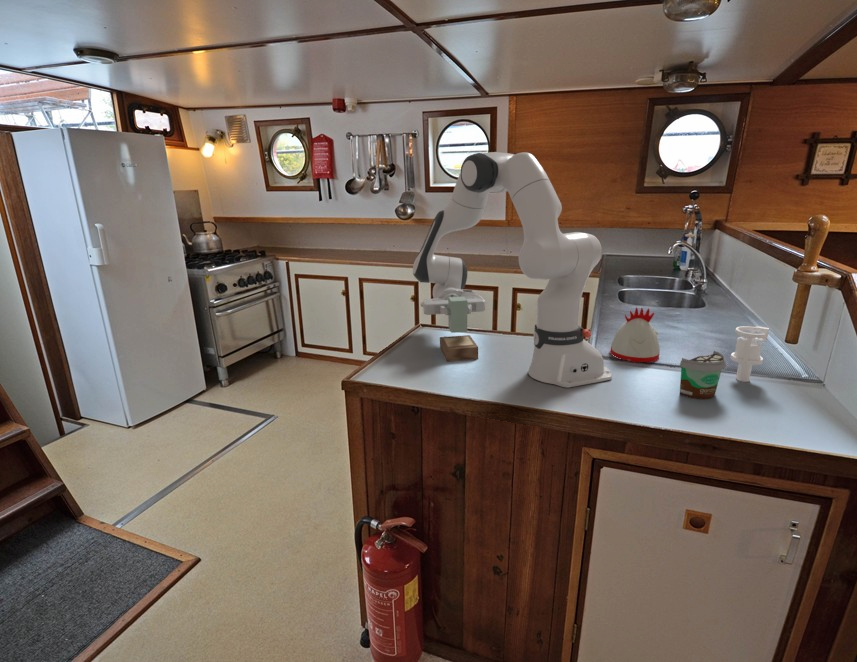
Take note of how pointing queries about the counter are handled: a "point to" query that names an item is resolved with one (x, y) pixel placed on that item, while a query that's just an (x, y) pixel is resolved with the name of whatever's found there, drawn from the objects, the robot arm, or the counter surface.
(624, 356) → the kitchen timer
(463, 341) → the build plinth
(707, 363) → the food container
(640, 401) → the counter surface
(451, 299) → the pillar block
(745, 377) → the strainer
